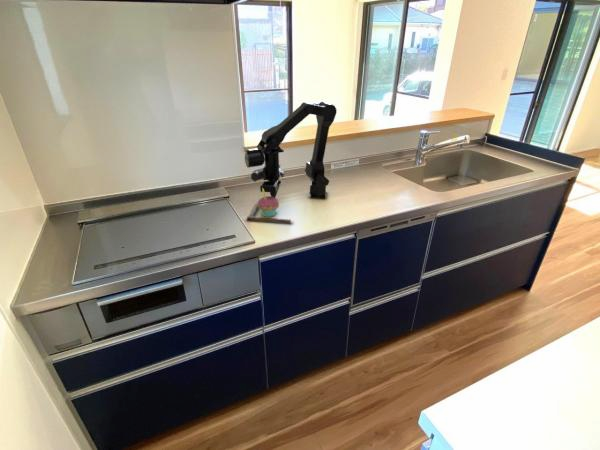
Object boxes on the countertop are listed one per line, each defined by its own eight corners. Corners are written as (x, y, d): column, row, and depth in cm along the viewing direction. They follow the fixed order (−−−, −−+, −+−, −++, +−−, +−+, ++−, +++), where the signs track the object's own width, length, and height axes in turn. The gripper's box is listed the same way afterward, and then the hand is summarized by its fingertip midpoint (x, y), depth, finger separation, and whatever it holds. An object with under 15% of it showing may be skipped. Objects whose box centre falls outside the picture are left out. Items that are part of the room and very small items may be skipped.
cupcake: (262, 220, 133) (260, 192, 127) (254, 211, 140) (252, 184, 134) (282, 215, 137) (282, 188, 131) (274, 207, 143) (273, 180, 137)
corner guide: (295, 208, 142) (295, 205, 142) (290, 224, 131) (290, 220, 130) (255, 205, 144) (255, 202, 144) (247, 220, 133) (246, 217, 133)
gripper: (257, 155, 146) (260, 188, 154) (245, 171, 130) (249, 207, 138) (283, 156, 144) (284, 190, 152) (274, 172, 128) (276, 209, 136)
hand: (273, 198), depth 145 cm, fingers closed
